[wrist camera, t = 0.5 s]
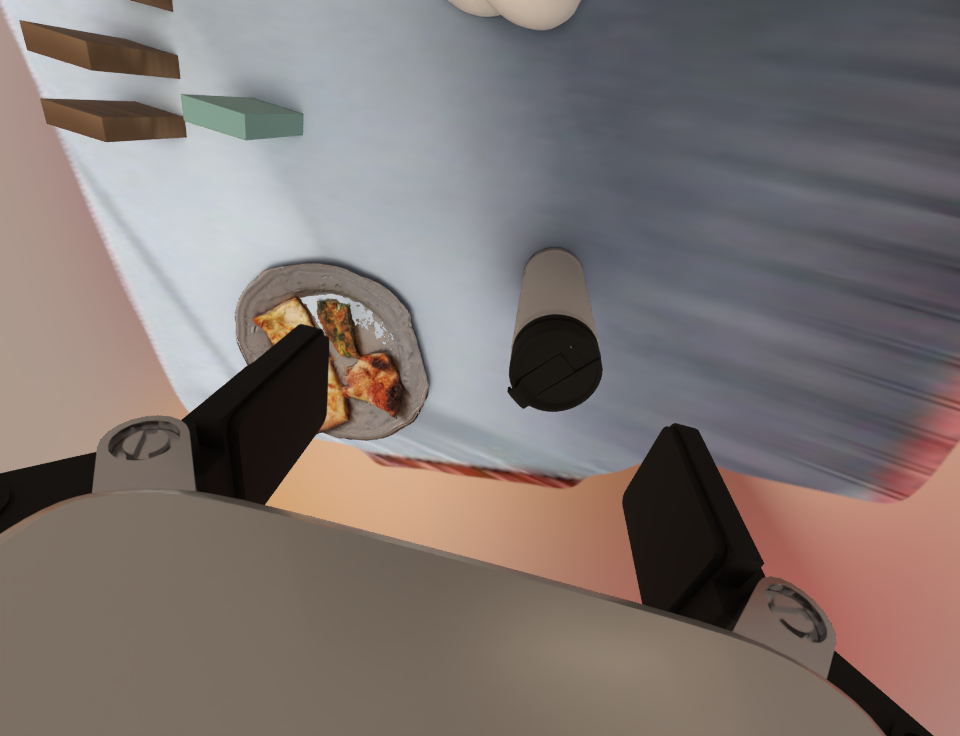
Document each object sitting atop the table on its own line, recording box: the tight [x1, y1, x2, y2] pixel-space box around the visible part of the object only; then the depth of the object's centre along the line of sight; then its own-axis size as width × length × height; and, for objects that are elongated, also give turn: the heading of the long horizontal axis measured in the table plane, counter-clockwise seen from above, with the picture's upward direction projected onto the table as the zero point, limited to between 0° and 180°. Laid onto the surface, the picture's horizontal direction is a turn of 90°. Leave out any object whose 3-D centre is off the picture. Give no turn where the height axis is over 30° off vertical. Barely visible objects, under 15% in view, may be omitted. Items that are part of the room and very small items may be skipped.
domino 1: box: [19, 20, 180, 79], centre depth 35 cm, size 2×5×9 cm, turn 75°
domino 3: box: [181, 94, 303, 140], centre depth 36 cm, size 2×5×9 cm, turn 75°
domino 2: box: [41, 98, 186, 142], centre depth 38 cm, size 2×5×9 cm, turn 75°
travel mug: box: [508, 248, 603, 412], centre depth 36 cm, size 6×7×20 cm
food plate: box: [235, 263, 429, 441], centre depth 52 cm, size 25×23×4 cm
